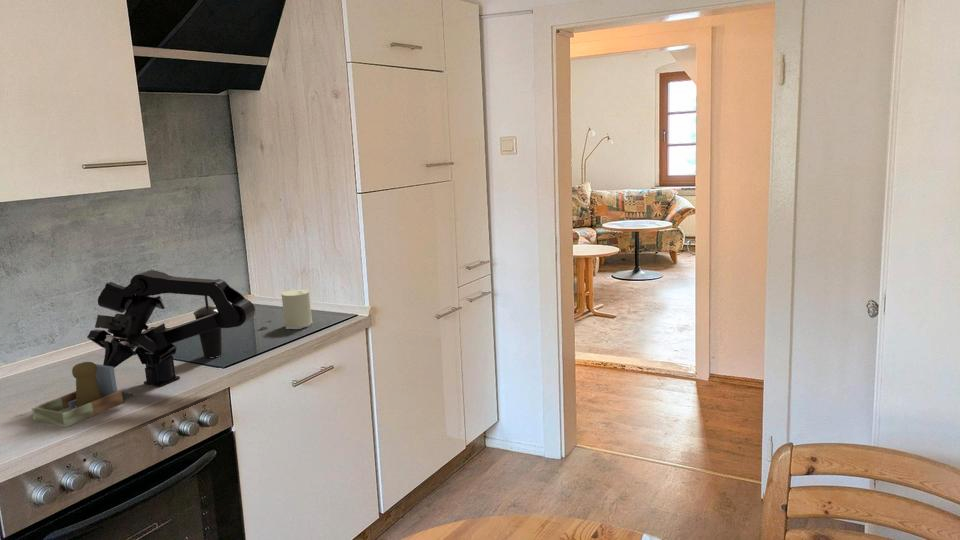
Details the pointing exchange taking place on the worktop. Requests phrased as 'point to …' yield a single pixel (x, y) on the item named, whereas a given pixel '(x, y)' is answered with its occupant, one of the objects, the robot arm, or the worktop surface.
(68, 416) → the track
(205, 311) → the drinking cup
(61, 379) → the worktop surface
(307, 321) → the can
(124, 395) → the pit mat
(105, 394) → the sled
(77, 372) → the cork
